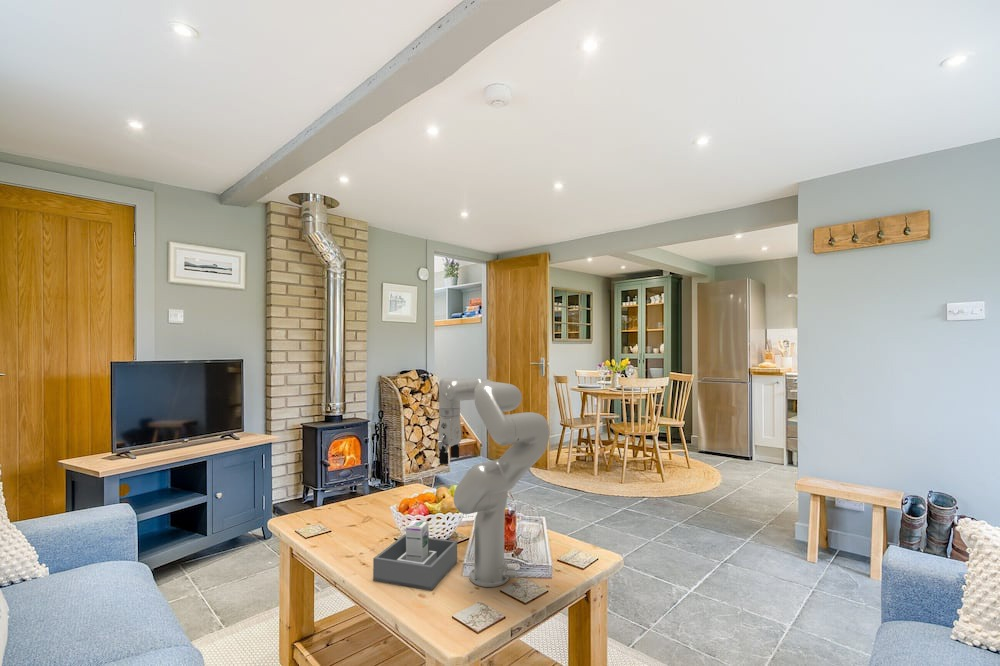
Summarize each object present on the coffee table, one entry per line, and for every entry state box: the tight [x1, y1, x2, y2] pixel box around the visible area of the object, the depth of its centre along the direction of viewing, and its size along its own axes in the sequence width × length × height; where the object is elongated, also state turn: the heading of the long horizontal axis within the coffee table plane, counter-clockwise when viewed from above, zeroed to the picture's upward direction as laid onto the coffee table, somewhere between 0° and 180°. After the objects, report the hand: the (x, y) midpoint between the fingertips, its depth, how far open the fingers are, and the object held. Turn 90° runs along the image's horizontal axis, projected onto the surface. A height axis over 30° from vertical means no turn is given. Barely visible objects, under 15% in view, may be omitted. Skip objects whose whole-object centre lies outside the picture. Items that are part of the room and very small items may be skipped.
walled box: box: [372, 533, 458, 592], centre depth 160 cm, size 20×20×7 cm
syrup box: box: [405, 520, 430, 563], centre depth 160 cm, size 6×6×14 cm
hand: (449, 460), depth 175 cm, fingers open, 9 cm apart
